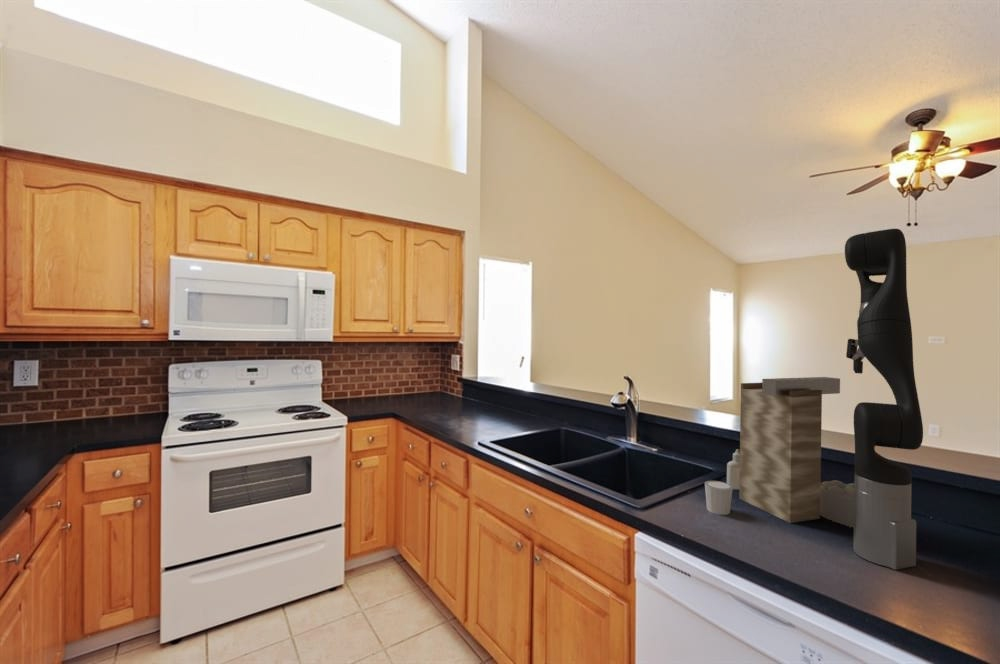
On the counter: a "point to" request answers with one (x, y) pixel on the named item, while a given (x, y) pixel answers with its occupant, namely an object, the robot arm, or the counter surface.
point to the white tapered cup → (718, 497)
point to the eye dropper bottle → (734, 471)
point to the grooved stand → (781, 452)
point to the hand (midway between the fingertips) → (873, 374)
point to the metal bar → (800, 385)
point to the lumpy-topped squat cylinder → (837, 502)
